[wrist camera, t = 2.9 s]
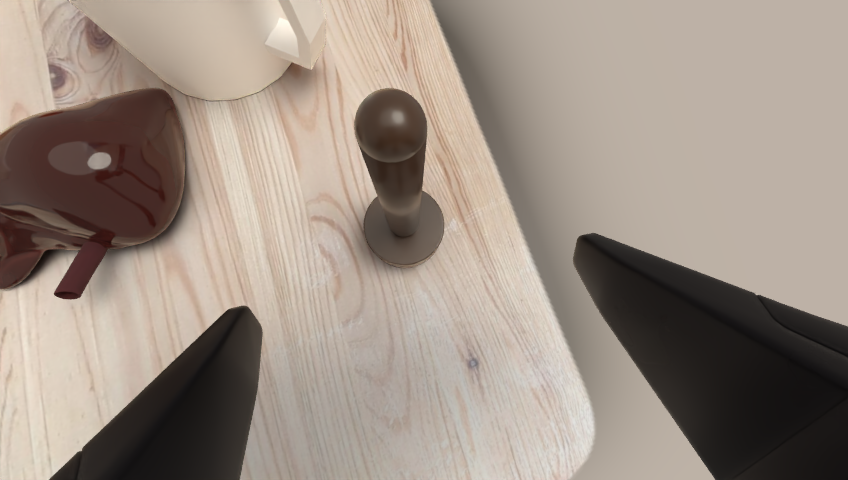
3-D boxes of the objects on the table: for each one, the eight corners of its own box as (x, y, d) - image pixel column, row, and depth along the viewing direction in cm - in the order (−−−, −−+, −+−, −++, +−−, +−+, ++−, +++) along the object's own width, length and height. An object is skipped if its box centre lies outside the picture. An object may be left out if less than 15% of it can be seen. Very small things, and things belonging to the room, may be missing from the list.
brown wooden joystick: (455, 235, 19) (544, 120, 6) (400, 283, 18) (372, 265, 6) (409, 182, 19) (401, -27, 7) (353, 227, 19) (228, 94, 6)
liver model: (228, 154, 22) (165, 274, 15) (83, 202, 23) (-41, 336, 16) (145, 56, 17) (-8, 163, 10) (-33, 123, 18) (-284, 262, 11)
